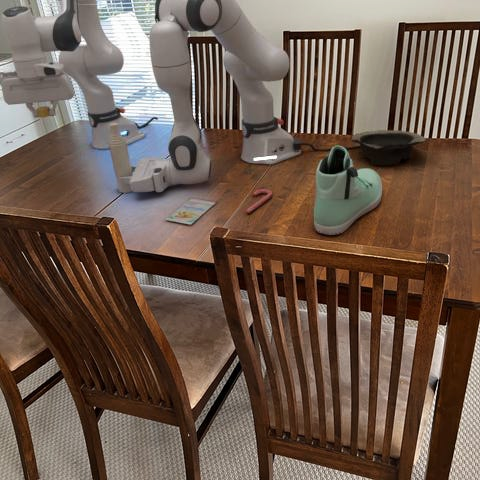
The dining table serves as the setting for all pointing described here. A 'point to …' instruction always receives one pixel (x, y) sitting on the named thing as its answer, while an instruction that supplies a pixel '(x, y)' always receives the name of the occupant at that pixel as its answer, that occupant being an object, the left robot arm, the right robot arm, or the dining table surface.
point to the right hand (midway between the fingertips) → (121, 175)
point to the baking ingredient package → (190, 211)
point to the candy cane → (261, 201)
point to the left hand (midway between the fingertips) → (45, 116)
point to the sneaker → (343, 192)
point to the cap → (43, 111)
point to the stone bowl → (387, 145)
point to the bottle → (120, 157)
